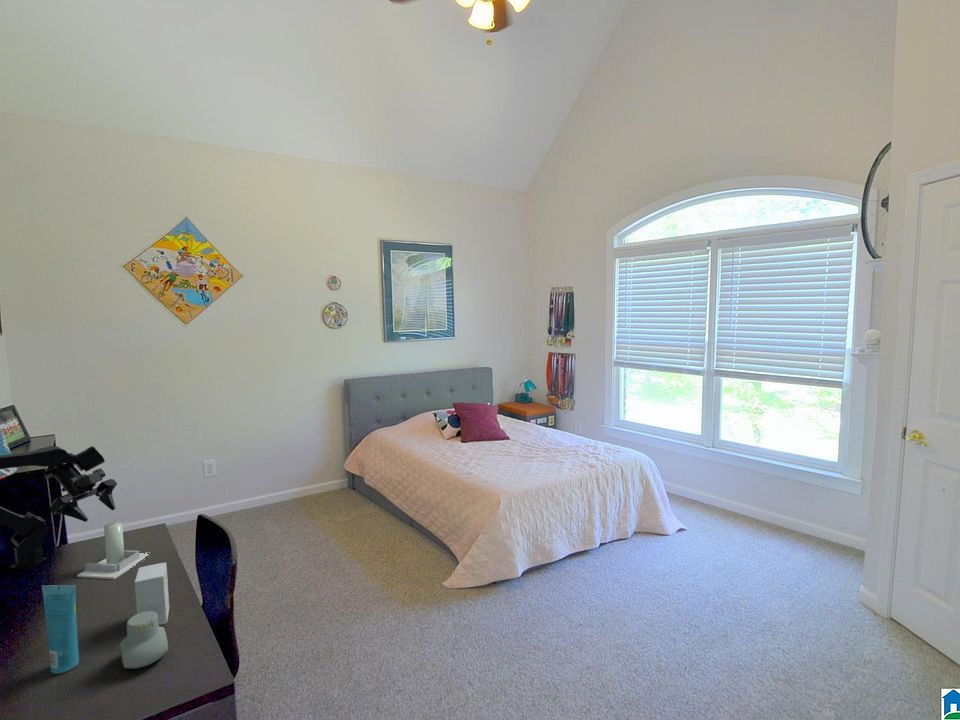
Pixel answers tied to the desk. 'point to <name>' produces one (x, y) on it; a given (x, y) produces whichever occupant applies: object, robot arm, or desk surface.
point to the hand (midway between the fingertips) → (100, 514)
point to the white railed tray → (112, 566)
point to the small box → (153, 591)
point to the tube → (61, 626)
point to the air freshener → (143, 641)
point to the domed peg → (114, 543)
